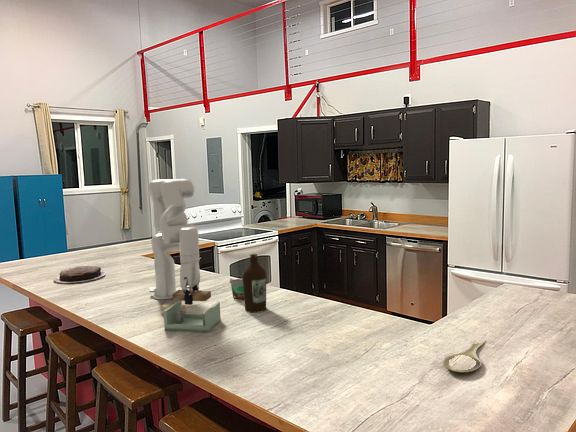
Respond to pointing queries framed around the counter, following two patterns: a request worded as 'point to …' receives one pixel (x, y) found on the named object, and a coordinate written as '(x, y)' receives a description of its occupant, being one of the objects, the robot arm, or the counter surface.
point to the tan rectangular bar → (170, 305)
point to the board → (196, 295)
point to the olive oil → (254, 286)
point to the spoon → (470, 353)
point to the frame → (191, 319)
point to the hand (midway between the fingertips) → (192, 301)
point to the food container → (237, 288)
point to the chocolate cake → (80, 275)
